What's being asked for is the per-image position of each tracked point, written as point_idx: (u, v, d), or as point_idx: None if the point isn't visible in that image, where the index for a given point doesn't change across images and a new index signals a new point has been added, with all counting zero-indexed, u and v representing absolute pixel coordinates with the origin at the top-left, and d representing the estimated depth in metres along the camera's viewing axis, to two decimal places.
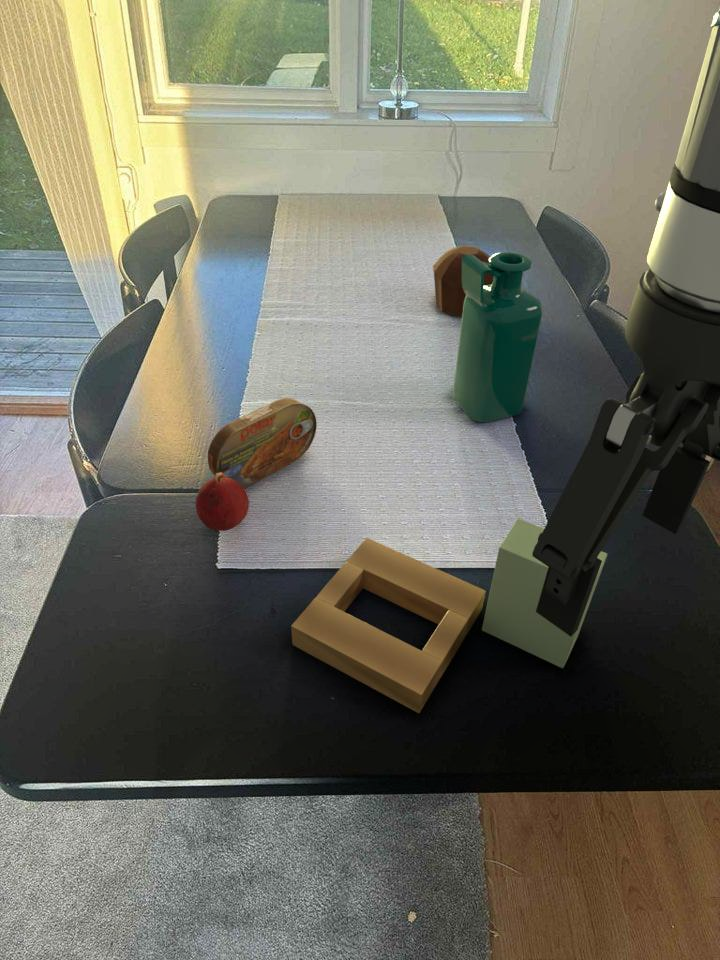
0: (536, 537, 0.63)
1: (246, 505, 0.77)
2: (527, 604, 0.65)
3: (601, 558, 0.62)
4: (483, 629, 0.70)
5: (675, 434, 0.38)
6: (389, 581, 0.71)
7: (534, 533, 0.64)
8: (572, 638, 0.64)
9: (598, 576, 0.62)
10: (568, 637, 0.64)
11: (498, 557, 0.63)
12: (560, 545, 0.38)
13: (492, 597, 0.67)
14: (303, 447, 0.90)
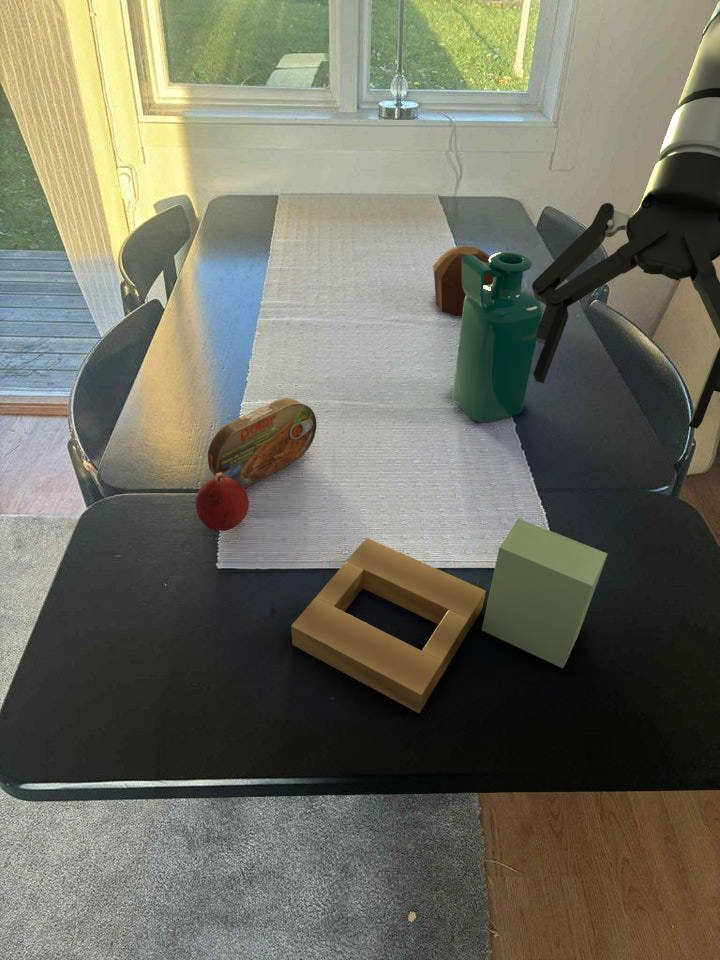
0: (536, 537, 0.63)
1: (246, 505, 0.77)
2: (527, 604, 0.65)
3: (601, 558, 0.62)
4: (483, 629, 0.70)
5: (638, 236, 0.60)
6: (389, 581, 0.71)
7: (534, 533, 0.64)
8: (572, 638, 0.64)
9: (598, 576, 0.62)
10: (568, 637, 0.64)
11: (498, 557, 0.63)
12: None
13: (492, 597, 0.67)
14: (303, 447, 0.90)
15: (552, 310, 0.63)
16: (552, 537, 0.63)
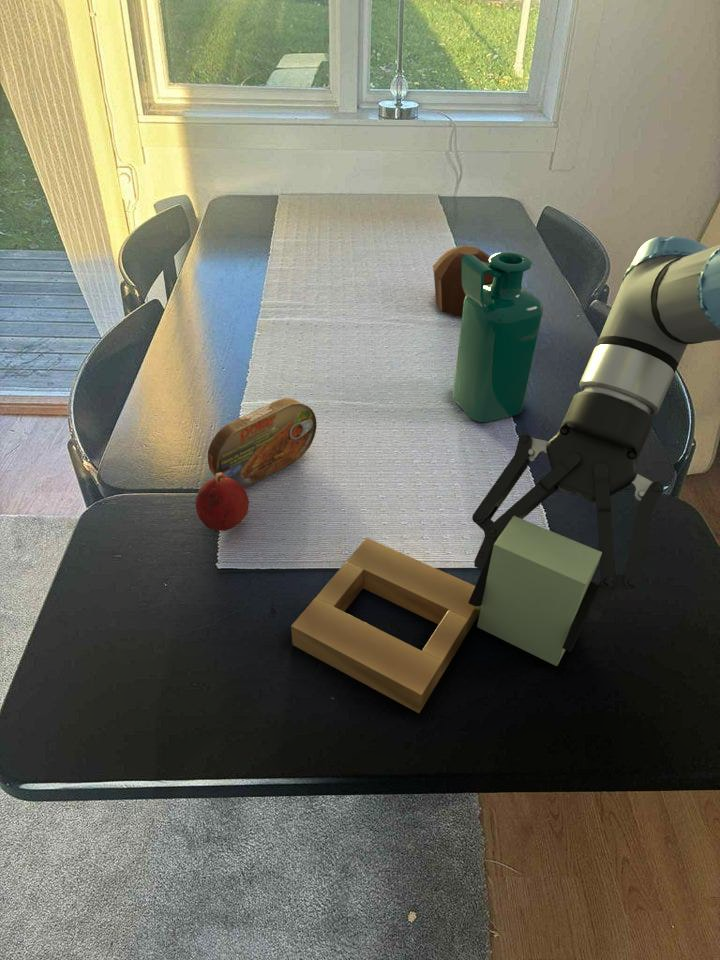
0: (531, 535, 0.64)
1: (246, 505, 0.77)
2: (521, 601, 0.65)
3: (595, 556, 0.62)
4: (478, 626, 0.70)
5: (555, 467, 0.65)
6: (389, 581, 0.71)
7: (529, 531, 0.64)
8: (566, 636, 0.64)
9: (592, 574, 0.62)
10: (562, 635, 0.64)
11: (493, 554, 0.63)
12: None
13: (487, 594, 0.67)
14: (303, 447, 0.90)
15: (493, 542, 0.67)
16: (547, 535, 0.64)
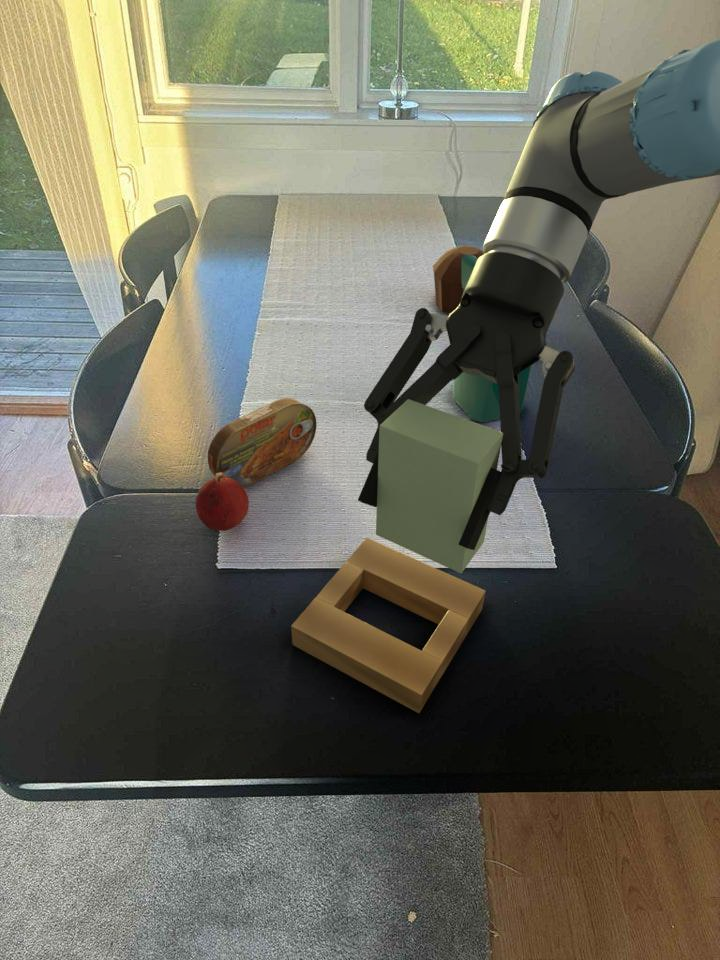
0: (424, 416, 0.55)
1: (246, 505, 0.77)
2: (415, 495, 0.57)
3: (494, 437, 0.53)
4: (377, 533, 0.62)
5: None
6: (389, 581, 0.71)
7: (423, 413, 0.56)
8: None
9: (492, 459, 0.54)
10: (461, 533, 0.56)
11: (380, 438, 0.55)
12: None
13: (381, 491, 0.59)
14: (303, 447, 0.90)
15: None
16: (442, 417, 0.55)
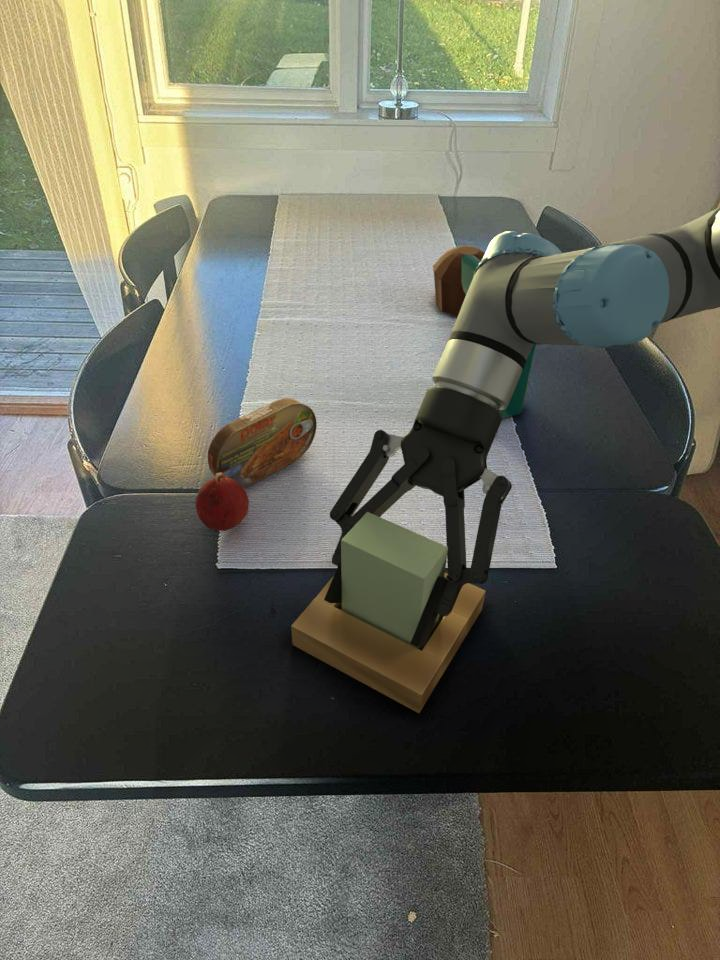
0: (380, 530, 0.64)
1: (246, 505, 0.77)
2: (374, 597, 0.65)
3: (440, 551, 0.62)
4: None
5: None
6: None
7: (379, 526, 0.64)
8: None
9: (438, 569, 0.62)
10: (414, 630, 0.64)
11: (342, 550, 0.63)
12: None
13: (344, 590, 0.67)
14: (303, 447, 0.90)
15: None
16: (396, 530, 0.64)
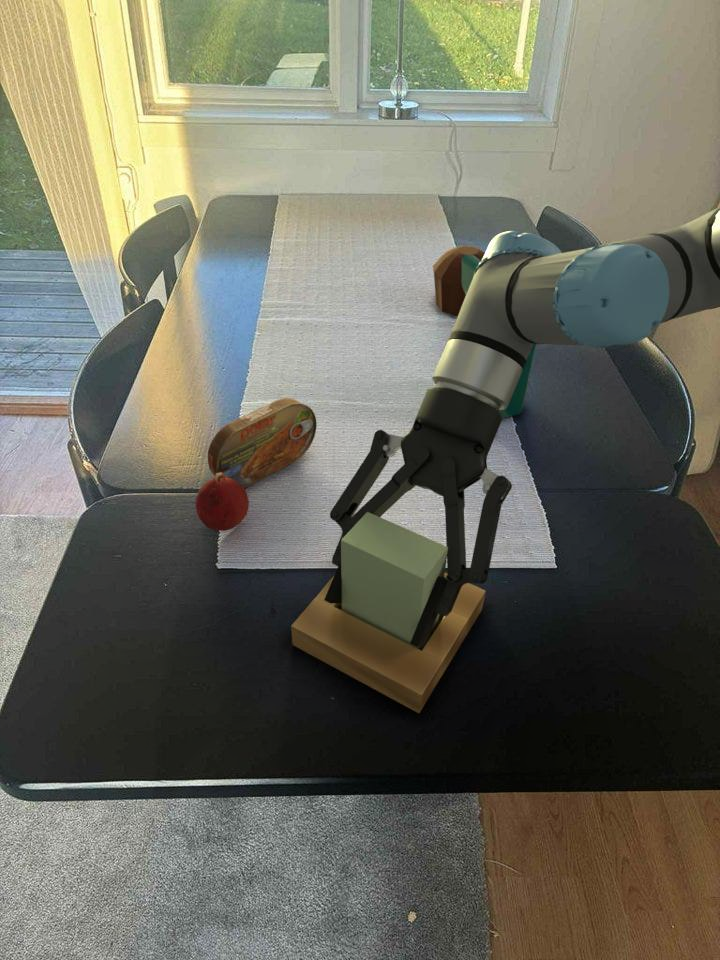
0: (380, 530, 0.64)
1: (246, 505, 0.77)
2: (374, 597, 0.65)
3: (440, 551, 0.62)
4: None
5: None
6: None
7: (379, 526, 0.64)
8: None
9: (438, 569, 0.62)
10: (414, 631, 0.64)
11: (342, 550, 0.63)
12: None
13: (344, 590, 0.67)
14: (303, 447, 0.90)
15: None
16: (396, 530, 0.64)
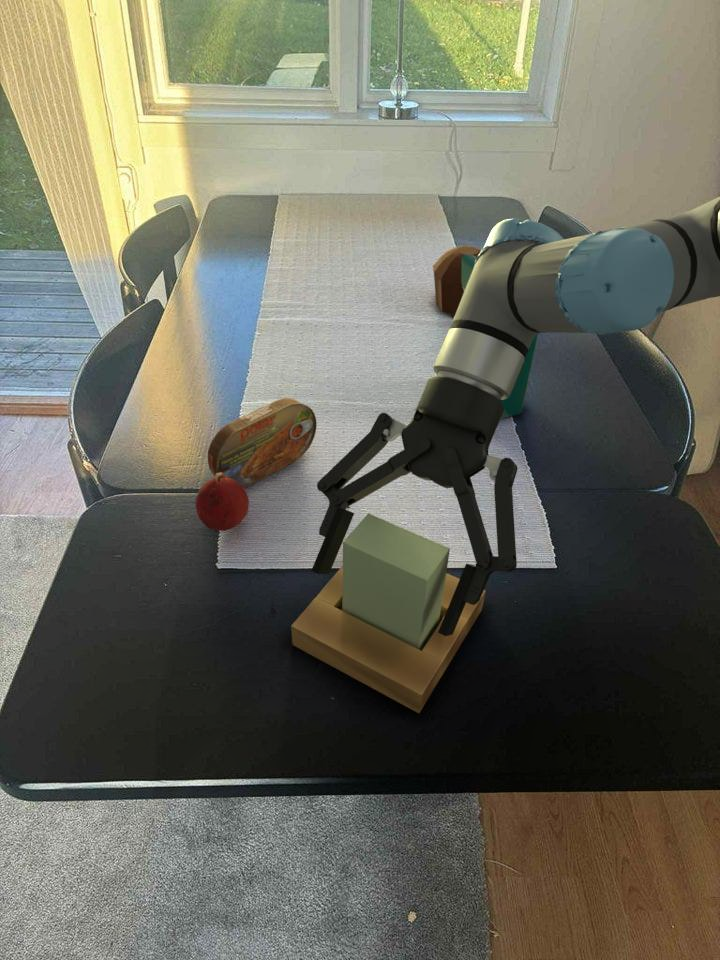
0: (382, 532, 0.64)
1: (246, 505, 0.77)
2: (375, 599, 0.65)
3: (442, 553, 0.62)
4: None
5: None
6: None
7: (381, 528, 0.64)
8: (419, 633, 0.64)
9: (440, 571, 0.62)
10: (416, 632, 0.64)
11: (343, 552, 0.63)
12: None
13: (345, 592, 0.67)
14: (303, 447, 0.90)
15: (334, 510, 0.67)
16: (398, 532, 0.64)
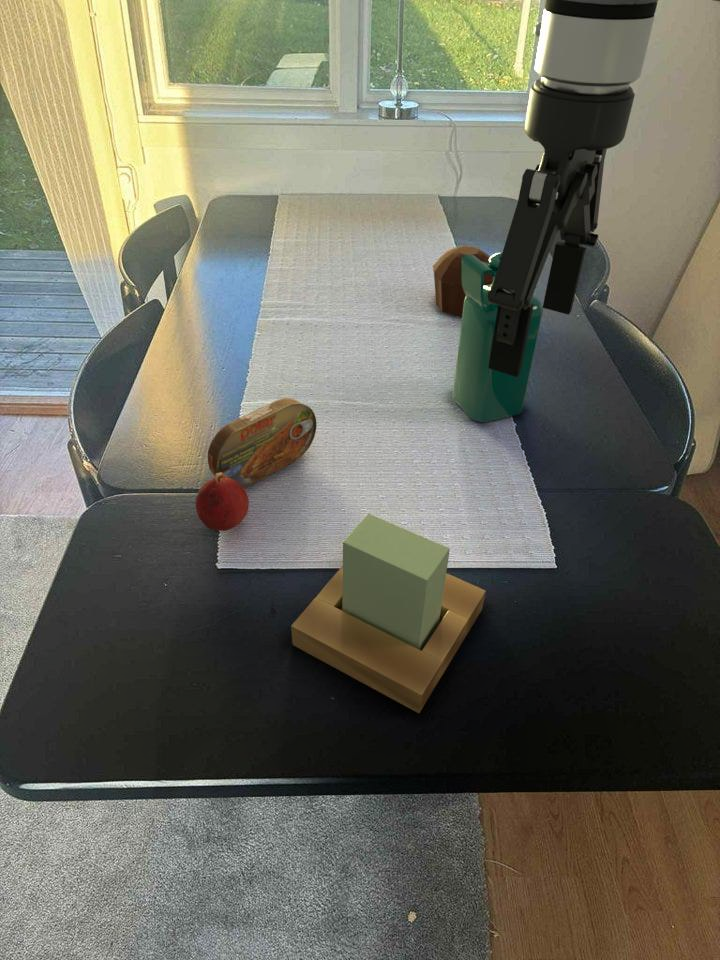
0: (382, 532, 0.64)
1: (246, 505, 0.77)
2: (375, 599, 0.65)
3: (442, 553, 0.62)
4: None
5: (570, 197, 0.54)
6: None
7: (381, 528, 0.64)
8: (419, 633, 0.64)
9: (440, 571, 0.62)
10: (416, 632, 0.64)
11: (343, 552, 0.63)
12: (508, 285, 0.53)
13: (345, 592, 0.67)
14: (303, 447, 0.90)
15: (519, 312, 0.56)
16: (398, 532, 0.64)
